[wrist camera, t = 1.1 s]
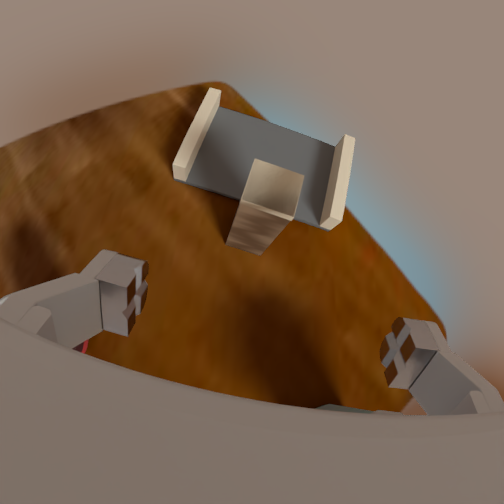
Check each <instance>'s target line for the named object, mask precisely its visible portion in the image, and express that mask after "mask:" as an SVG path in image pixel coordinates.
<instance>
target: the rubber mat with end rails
mask: <svg viewBox="0 0 504 504" xmlns="http://www.w3.org/2000/svg"><path fill="white" fill-rule="evenodd" d="M220 95H221V90H217V89H214V88H210V89H209V90H208V92H207V94H206V96H205V98H204V100H203V102H202V104H201V106H200V108H199V110H198V112H197V114H196V116H195V118H194V120H193V122H192V124H191V126H190V128H189V130H188V132H187V134H186V136H185V138H184V140H183V143H182V145H181V147H180V149H179V151H178V153H177V155H176V158H175V160H174V162H173V164H172V165H173V174H174V180H175V181H179V182H182V183H185V184H188V185H192V186H195V187H198V188H201V189H204V190H208V191H211V192H214V193H217V194H220V195H223V196H226V197H229V198H233V199H236V200H239V201H240V200H241V197H242V194H243V191H244V188H245V186H246V183H247V180H248V177H249V174H250V171H251V168H252V165H253V162H254V159H258V160H261V161H264V162H267V163H270V164H273V165H276V166H279V167H282V168H285V169H287V170H290V171H293V172H296V173H298V174H301V175H304V180H303V184H302V188H301V192H300V196H299V200H298V204H297V208H296V212H295V216H294V218H293V219H295V220H298V221H301V222H304V223H306V224H309V225H312V226H315V227H318V228H320V229H323V230H326V231H330V230H331V229H332V228H334V227H335V226H336V225H338V224H339V223H340V222H341V221H342V218H343V212H344V207H345V201H346V195H347V189H348V183H349V177H350V171H351V165H352V158H353V151H354V144H355V138H353V137H351V136H348V135H346V134H345V135H344V136H343V137H342V139H341V140H340V141H339V143H338V144H337V145H336V147H334V146H331V145H329V144H327V143H324V142H322V141H319V140H317V139H314V138H311V137H309V136H306V135H303V134H301V133H298V132H295V131H292V130H290V129H287V128H284V127H281V126H278V125H276V124H273V123H270V122H267V121H264V120H261V119H258V118H255V117H252V116H248V115H245V114H242V113H239V112H236V111H232V110H229V109H226V108H222V107H219V102H220Z"/></svg>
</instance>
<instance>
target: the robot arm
mask: <svg viewBox="0 0 504 504" xmlns="http://www.w3.org/2000/svg"><path fill="white" fill-rule="evenodd" d="M148 271H149V264H148V261H146V260H142V259H138V258H135V257H131V256H128V255H124V254H121V253H117V252H113V251H109V250H106V249H105V250H101V251H100V253H99V254H98V255H97V256H96V257H95V258H94V259H93V260H92V261H91V262H90V263H89V264H88V265H87V266H86V267H85V268H84V269H83V271H82V272H81V273H80V274H77V273H74V274H70V275H67V276H64V277H61V278H58V279H55V280H51V281H48V282H45V283H42V284H39V285H36V286H33V287H30V288H27V289H24V290H21V291H18V292H14V293H12V294H11V295H10V296H9V297H8V298H7V299H6V300H5V301H4V302H3V303H2V304H1V305H0V504H504V403H503V401H502V399H501V397H500V394H499V392H498V390H497V389H496V388H495V387H494V386H492V385H491V384H490V383H489V382H488V381H487V380H486V379H484V378H483V377H482V376H481V375H480V374H479V373H478V372H476V371H475V370H474V369H473V368H472V367H471V366H469V365H468V364H467V363H466V362H465V361H464V360H462V359H461V358H460V357H459V356H458V355H457V354H455V353H452V352H451V350H450V348H449V346H448V344H447V342H446V340H445V338H444V337H443V335H442V333H441V331H440V329H439V327H438V325H437V324H436V323H434V322H429V321H420V320H414V319H408V318H401V317H398V318H397V319H396V320H395V321H394V323H393V324H392V326H391V327H392V332H391V333H390V334H388V335H387V336H385V338H384V340H383V342H382V344H381V348H380V359H381V363H382V364H383V365H384V366H385V367H386V370H385V372H384V373H385V377H386V380H387V384H388V387H393V388H402V389H409V392H410V393H411V394H412V395H413V397H414V398H415V399H416V400H417V402H418V403H419V404H420V405H421V407H422V408H423V409H424V411H425V412H426V413H427V416H426V415H425V416H424V415H423V416H422V415H416V416H415V415H384V414H366V413H352V412H341V411H331V410H321V409H313V408H304V407H297V406H290V405H283V404H276V403H270V402H264V401H258V400H253V399H247V398H242V397H237V396H232V395H227V394H222V393H217V392H213V391H208V390H204V389H200V388H196V387H192V386H187V385H184V384H180V383H176V382H172V381H168V380H165V379H161V378H157V377H154V376H150V375H147V374H144V373H140V372H137V371H134V370H131V369H127V368H124V367H121V366H118V365H115V364H112V363H109V362H106V361H103V360H100V359H97V358H95V357H92V356H89V355H86V354H84V353H81V352H78V351H76V350H73V349H72V348H74V347H76V346H77V345H79V344H81V343H82V342H84V341H86V340H87V339H89V338H91V337H93V336H94V335H96V334H98V333H99V332H101V331H102V329H103V330H107V331H110V332H113V333H117V334H121V335H124V336H128V335H129V334H130V332H131V330H132V328H133V326H134V324H135V318H136V315H138V314H140V313H141V311H142V309H143V308H144V304H145V301H146V297H147V290H148V285H147V283H146V282H145V278H146V277H147V275H148Z"/></svg>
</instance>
